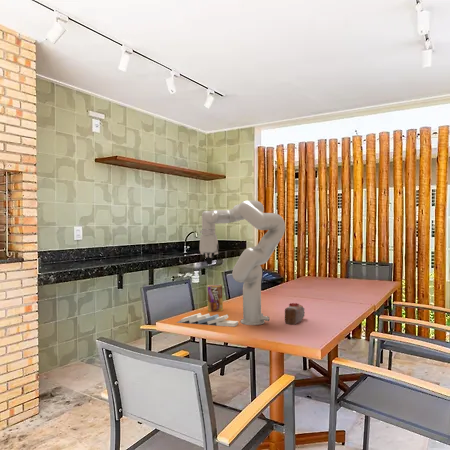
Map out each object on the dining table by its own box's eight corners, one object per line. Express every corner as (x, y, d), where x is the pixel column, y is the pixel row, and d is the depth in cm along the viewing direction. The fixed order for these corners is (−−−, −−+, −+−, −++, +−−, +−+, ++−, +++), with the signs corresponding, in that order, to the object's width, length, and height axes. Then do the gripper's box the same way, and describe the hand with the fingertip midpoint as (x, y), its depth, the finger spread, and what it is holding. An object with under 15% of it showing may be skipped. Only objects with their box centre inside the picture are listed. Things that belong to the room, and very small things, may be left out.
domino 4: (220, 323, 204) (238, 324, 201) (216, 325, 200) (234, 326, 196) (219, 319, 204) (238, 321, 201) (216, 322, 200) (234, 323, 196)
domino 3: (211, 322, 206) (228, 317, 203) (208, 324, 201) (225, 319, 198) (210, 319, 206) (227, 314, 203) (207, 321, 202) (224, 316, 198)
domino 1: (185, 320, 212) (201, 315, 208) (181, 322, 207) (197, 317, 203) (184, 317, 212) (200, 312, 208) (180, 319, 207) (196, 314, 204)
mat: (230, 323, 204) (230, 322, 204) (225, 327, 197) (225, 326, 197) (182, 320, 214) (182, 319, 214) (176, 323, 207) (176, 322, 207)
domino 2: (194, 321, 210) (210, 316, 206) (189, 323, 205) (206, 318, 202) (193, 318, 210) (209, 313, 206) (188, 320, 205) (205, 315, 202)
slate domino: (202, 321, 208) (218, 316, 205) (198, 324, 203) (215, 319, 200) (201, 318, 208) (218, 314, 205) (197, 321, 204) (214, 316, 200)
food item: (291, 318, 214) (290, 300, 214) (305, 319, 210) (305, 300, 210) (283, 324, 201) (283, 304, 201) (298, 325, 198) (298, 306, 198)
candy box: (222, 309, 239) (221, 284, 239) (223, 310, 234) (222, 285, 234) (207, 310, 238) (207, 285, 238) (208, 311, 234) (207, 286, 234)
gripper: (194, 232, 223) (194, 265, 223) (218, 232, 218) (219, 265, 218) (199, 232, 230) (200, 263, 230) (223, 232, 225) (224, 264, 225)
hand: (209, 264), depth 224 cm, fingers closed
